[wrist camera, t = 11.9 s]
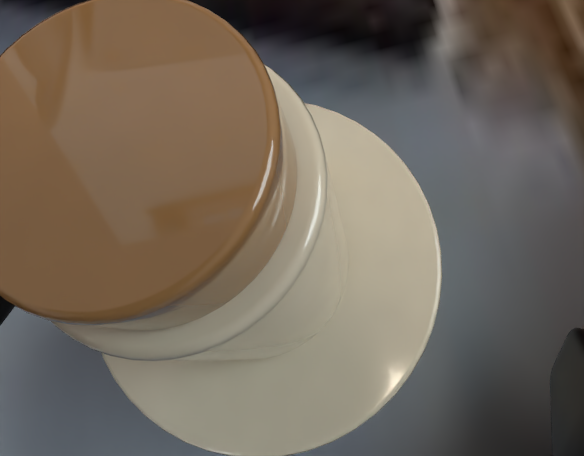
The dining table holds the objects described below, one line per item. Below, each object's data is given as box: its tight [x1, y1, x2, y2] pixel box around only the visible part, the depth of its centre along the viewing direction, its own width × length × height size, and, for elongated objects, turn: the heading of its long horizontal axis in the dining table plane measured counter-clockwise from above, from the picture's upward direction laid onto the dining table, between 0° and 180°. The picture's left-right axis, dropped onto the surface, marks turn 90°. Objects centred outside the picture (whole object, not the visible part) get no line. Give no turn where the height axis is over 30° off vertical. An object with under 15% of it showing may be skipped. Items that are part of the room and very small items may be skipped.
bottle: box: [0, 0, 442, 456], centre depth 10 cm, size 5×5×14 cm
